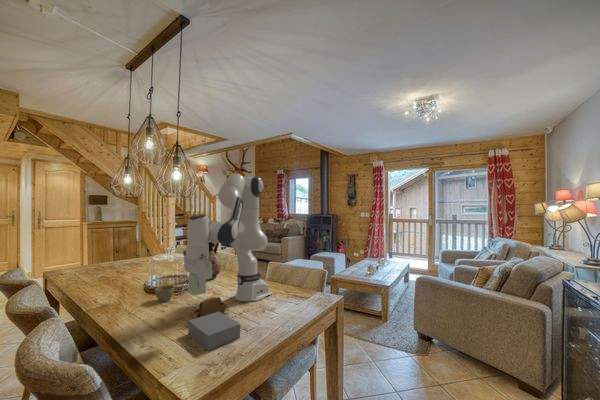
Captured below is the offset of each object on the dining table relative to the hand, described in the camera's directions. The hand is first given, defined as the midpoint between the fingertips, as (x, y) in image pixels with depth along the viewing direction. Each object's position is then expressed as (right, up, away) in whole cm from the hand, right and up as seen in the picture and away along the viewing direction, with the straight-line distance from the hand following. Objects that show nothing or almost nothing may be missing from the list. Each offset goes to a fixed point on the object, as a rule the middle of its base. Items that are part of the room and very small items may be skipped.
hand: (197, 285), depth 111 cm
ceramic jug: (-23, -22, +85) cm, 91 cm away
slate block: (+7, -21, -1) cm, 22 cm away
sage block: (0, -3, 0) cm, 3 cm away
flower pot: (-34, -21, +39) cm, 56 cm away
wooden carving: (0, -21, +16) cm, 27 cm away
